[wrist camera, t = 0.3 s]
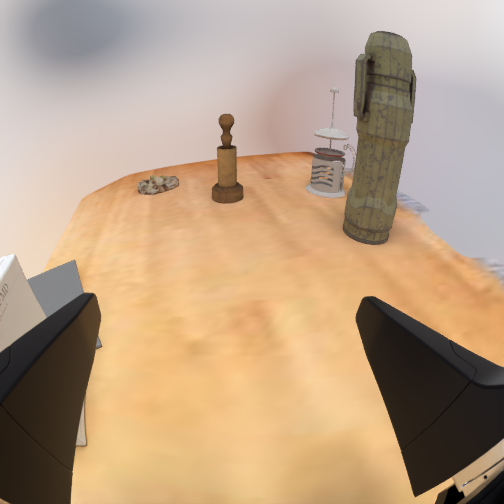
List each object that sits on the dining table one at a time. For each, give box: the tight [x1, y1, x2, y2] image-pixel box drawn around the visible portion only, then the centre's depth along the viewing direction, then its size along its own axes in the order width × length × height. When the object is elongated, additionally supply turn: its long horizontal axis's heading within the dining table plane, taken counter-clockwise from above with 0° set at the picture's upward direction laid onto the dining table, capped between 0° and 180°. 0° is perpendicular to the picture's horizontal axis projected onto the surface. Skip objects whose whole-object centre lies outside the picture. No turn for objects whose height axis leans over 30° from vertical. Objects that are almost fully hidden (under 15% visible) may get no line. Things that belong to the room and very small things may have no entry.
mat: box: [27, 260, 102, 349], centre depth 28 cm, size 20×14×1 cm
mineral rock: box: [137, 175, 179, 195], centre depth 64 cm, size 11×4×8 cm
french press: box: [306, 87, 356, 198], centre depth 57 cm, size 10×12×25 cm
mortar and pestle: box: [212, 114, 243, 203], centre depth 54 cm, size 7×6×18 cm
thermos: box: [343, 31, 416, 245], centre depth 37 cm, size 9×12×35 cm
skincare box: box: [0, 254, 86, 446], centre depth 14 cm, size 8×6×15 cm
